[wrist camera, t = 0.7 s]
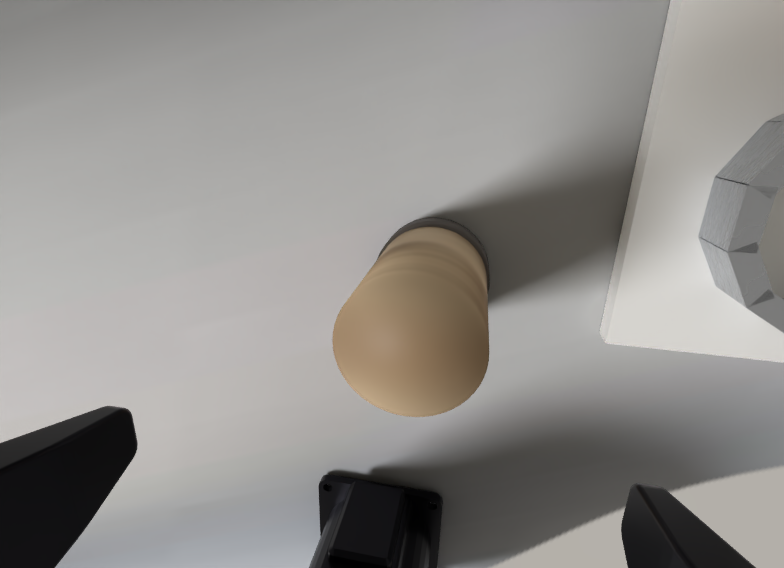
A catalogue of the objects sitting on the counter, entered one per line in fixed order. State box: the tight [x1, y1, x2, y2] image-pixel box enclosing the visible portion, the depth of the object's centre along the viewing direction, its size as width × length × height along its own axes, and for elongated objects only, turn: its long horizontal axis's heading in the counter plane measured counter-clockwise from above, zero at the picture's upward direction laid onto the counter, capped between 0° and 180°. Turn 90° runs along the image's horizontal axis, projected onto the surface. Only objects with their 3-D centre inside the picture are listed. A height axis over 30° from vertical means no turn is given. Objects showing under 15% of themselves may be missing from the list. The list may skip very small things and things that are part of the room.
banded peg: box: [333, 218, 489, 417], centre depth 16 cm, size 5×5×7 cm
